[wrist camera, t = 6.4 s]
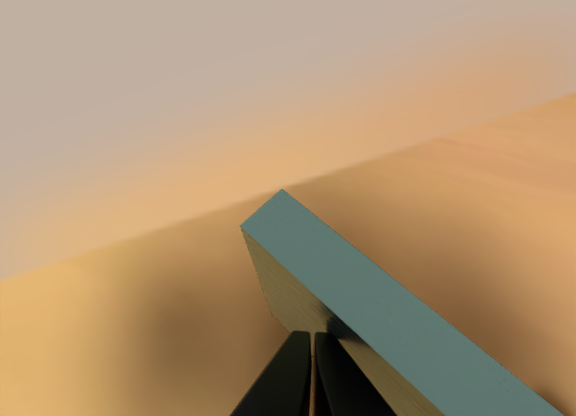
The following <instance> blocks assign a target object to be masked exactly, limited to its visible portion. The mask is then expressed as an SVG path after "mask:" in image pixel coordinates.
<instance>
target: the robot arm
mask: <svg viewBox="0 0 576 416" xmlns="http://www.w3.org/2000/svg"><path fill="white" fill-rule="evenodd" d="M311 366H312V360H311V335H310V332H309V331H298V330H294V331H292V332H291V333H290V335H289V336H288V338H287V339H286V340H285V342H284V343H283V344H282V346H281V347H280V348H279V350H278V351H277V352H276V354H275V355H274V356H273V358H272V359H271V360H270V362H269V363H268V364H267V366H266V367H265V369H264V370H263V371H262V373H261V374H260V375H259V377H258V378H257V379H256V381H255V382H254V383H253V385H252V386H251V387H250V389H249V390H248V391H247V393H246V394H245V395H244V397H243V398H242V399H241V401H240V402H239V404H238V405H237V406H236V408H235V409H234V410H233V412H232V413H231V414H230V416H309V407H310V387H311ZM312 416H397V414H396V413H395V412H394V411H393V409H392V408H391V407H390V405H389V404H388V403H387V402H386V400H385V399H384V398H383V397H382V395H381V394H380V393H379V391H378V390H377V389H376V388H375V386H374V385H373V384H372V383H371V381H370V380H369V379H368V378H367V376H366V375H365V374H364V372H363V371H362V370H361V369H360V367H359V366H358V365H357V364H356V362H355V361H354V360H353V358H352V357H351V356H350V355H349V353H348V352H347V351H346V350H345V348H344V347H343V346H342V344H341V343H340V342H339V341H338V339H337V338H336V337H335V336H333V335H332V334H331V333H329V332H315V334H314V345H313V366H312Z"/></svg>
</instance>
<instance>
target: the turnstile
mask: <svg viewBox="0 0 576 416" xmlns="http://www.w3.org/2000/svg"><path fill="white" fill-rule="evenodd" d="M240 227H241V230H242V233H243V236H244V238H245V241H246V244H247V247H248V250H249V252H250V255H251V258H252V261H253V264H254V266H255V269H256V272H257V275H258V277H259V280H260V283H261V286H262V289H263V291H264V294H265V297H266V300H267V302H268V305H269V308H270V311H271V314H272V315H273V316H274V317H275V318H276V319H277V320H278V321H279V323H280V324H281V325H282V326H283V327H284V328H285V329H286V330H287V331H288V332H289V333H291V332H292V331H294V330H298V331H309V332H310V335H311V355H312V356H313V345H314V334H315V332H329V333H331V334H332V335H333V336H335V337H336V338H337V339H338V341H339V342H340V343H341V344H342V346H343V347H344V348H345V350H346V351H347V352H348V353H349V355H350V356H351V357H352V358H353V360H354V361H355V362H356V364H357V365H358V366H359V367H360V369H361V370H362V371H363V372H364V374H365V375H366V376H367V378H368V379H369V380H370V381H371V383H372V384H373V385H374V386H375V388H376V389H377V390H378V391H379V393H380V394H381V395H382V397H383V398H384V399H385V400H386V402H387V403H388V404H389V405H390V407H391V408H392V409H393V411H394V412H395V413H396V414H397V416H564V415H563V414H562V413H560V412H559V411H558V410H557V409H555V408H554V407H553V406H552V405H550V404H549V403H548V402H547V401H545V400H544V399H543V398H542V397H540V396H539V395H538V394H537V393H535V392H534V391H533V390H532V389H531V388H529V387H528V386H527V385H526V384H524V383H523V382H522V381H521V380H519V379H518V378H517V377H516V376H514V375H513V374H512V373H511V372H509V371H508V370H507V369H506V368H504V367H503V366H502V365H501V364H499V363H498V362H497V361H496V360H494V359H493V358H492V357H491V356H489V355H488V354H487V353H486V352H484V351H483V350H482V349H481V348H479V347H478V346H477V345H476V344H475V343H473V342H472V341H471V340H470V339H468V338H467V337H466V336H465V335H463V334H462V333H461V332H460V331H458V330H457V329H456V328H455V327H453V326H452V325H451V324H450V323H448V322H447V321H446V320H445V319H443V318H442V317H441V316H440V315H438V314H437V313H436V312H435V311H433V310H432V309H431V308H430V307H428V306H427V305H426V304H425V303H424V302H422V301H421V300H420V299H419V298H417V297H416V296H415V295H414V294H412V293H411V292H410V291H409V290H407V289H406V288H405V287H404V286H402V285H401V284H400V283H399V282H397V281H396V280H395V279H394V278H392V277H391V276H390V275H389V274H387V273H386V272H385V271H384V270H382V269H381V268H380V267H379V266H377V265H376V264H375V263H374V262H372V261H371V260H370V259H369V258H368V257H366V256H365V255H364V254H363V253H361V252H360V251H359V250H358V249H356V248H355V247H354V246H353V245H351V244H350V243H349V242H348V241H346V240H345V239H344V238H343V237H341V236H340V235H339V234H338V233H336V232H335V231H334V230H333V229H331V228H330V227H329V226H328V225H326V224H325V223H324V222H323V221H321V220H320V219H319V218H318V217H316V216H315V215H314V214H313V213H312V212H310V211H309V210H308V209H307V208H305V207H304V206H303V205H302V204H300V203H299V202H298V201H297V200H295V199H294V198H293V197H292V196H290V195H289V194H288V193H287V192H285V191H284V190H283V189H281V190H280V191H279V192H278V193H277V194H275V195H274V196H273V197H272V198H271V199H270V200H269V201H268V202H266V203H265V204H264V205H263V206H262V207H261V208H260V209H258V210H257V211H256V212H255V213H254V214H253V215H252V216H251V217H249V218H248V219H247V220H246V221H245V222H244V223H243V224H242V225H240Z"/></svg>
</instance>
